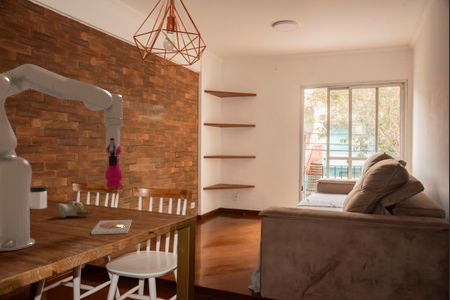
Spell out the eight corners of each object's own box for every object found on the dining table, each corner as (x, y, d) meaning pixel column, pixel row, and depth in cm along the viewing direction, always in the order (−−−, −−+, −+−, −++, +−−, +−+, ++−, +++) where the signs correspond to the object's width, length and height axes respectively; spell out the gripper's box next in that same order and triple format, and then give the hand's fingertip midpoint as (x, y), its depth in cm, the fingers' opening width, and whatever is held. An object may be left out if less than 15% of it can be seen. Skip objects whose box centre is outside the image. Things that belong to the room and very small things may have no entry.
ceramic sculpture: (57, 198, 172) (88, 198, 181) (55, 215, 172) (87, 214, 180) (60, 201, 163) (93, 201, 172) (58, 220, 163) (91, 218, 171)
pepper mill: (101, 187, 146) (101, 140, 146) (110, 185, 153) (110, 140, 153) (117, 187, 145) (117, 140, 144) (125, 185, 152) (125, 140, 151)
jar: (39, 206, 199) (39, 185, 199) (50, 207, 196) (50, 186, 196) (25, 208, 191) (25, 187, 190) (36, 209, 188) (36, 187, 188)
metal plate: (127, 233, 140) (127, 229, 140) (91, 234, 138) (91, 231, 138) (131, 222, 160) (131, 219, 160) (100, 223, 157) (100, 220, 157)
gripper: (107, 123, 156) (107, 164, 156) (101, 121, 139) (101, 166, 140) (124, 124, 157) (124, 163, 158) (120, 122, 141) (120, 166, 141)
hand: (113, 164), depth 149 cm, fingers closed on pepper mill, 5 cm apart
